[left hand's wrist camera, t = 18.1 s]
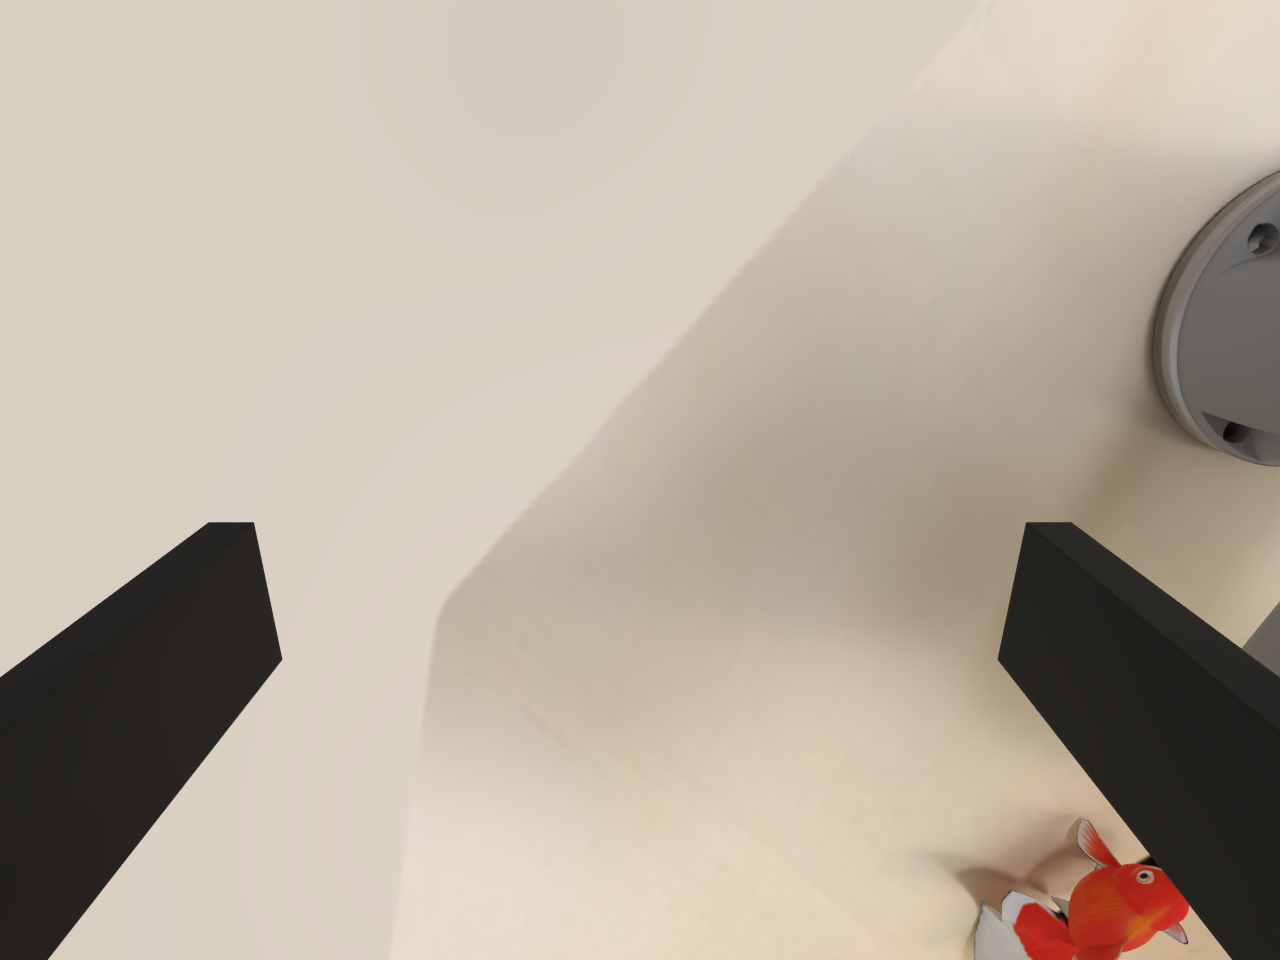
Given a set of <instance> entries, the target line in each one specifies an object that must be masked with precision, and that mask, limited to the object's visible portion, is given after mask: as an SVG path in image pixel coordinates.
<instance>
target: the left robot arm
mask: <svg viewBox="0 0 1280 960" xmlns="http://www.w3.org/2000/svg"><path fill="white" fill-rule="evenodd" d="M1152 355H1153V368H1154V374H1155V379H1156V383H1157V386H1158V389H1159V392H1160V395H1161V397H1162V399H1163V401H1164V404H1165V405H1166V407H1167V409H1168V410H1169V412H1170V413H1171V415H1172V416H1173V417H1174V419H1175V420H1176V421H1177V422H1178V424H1179V425H1180V426H1182V427H1183V428H1184V429H1185V430H1186V431H1187V432H1188V433H1189V434H1191V435H1192V436H1193V437H1195V438H1196V439H1198V440H1199V441H1201V442H1203V443H1205V444H1207V445H1209V446H1211V447H1213V448H1216V449H1218V450H1220V451H1223V452H1225V453H1227V454H1230V455H1232V456H1234V457H1237V458H1239V459H1242V460H1245V461H1248V462H1251V463H1255V464H1260V465H1266V466H1275V467H1280V171H1279V172H1277V173H1275V174H1273V175H1272V176H1270V177H1268V178H1266V179H1264V180H1263V181H1261V182H1259V183H1258V184H1256V185H1255V186H1253V187H1251V188H1250V189H1248V190H1247V191H1246V192H1244V193H1243V194H1242V195H1240V196H1239V197H1238V198H1236V199H1235V200H1234V201H1233V202H1231V203H1230V204H1229V205H1228V206H1227V207H1226V208H1224V209H1223V210H1222V211H1221V212H1220V213H1219V214H1218V215H1217V216H1216V217H1215V218H1214V219H1213V220H1212V221H1211V222H1210V223H1209V224H1208V225H1207V226H1206V227H1205V229H1204V230H1203V231H1202V232H1201V233H1200V234H1199V236H1198V237H1197V238H1196V239H1195V241H1194V242H1193V243H1192V245H1191V246H1190V247H1189V249H1188V250H1187V251H1186V253H1185V255H1184V256H1183V258H1182V259H1181V261H1180V263H1179V264H1178V266H1177V268H1176V269H1175V271H1174V273H1173V275H1172V277H1171V279H1170V281H1169V283H1168V286H1167V288H1166V290H1165V293H1164V295H1163V298H1162V301H1161V304H1160V307H1159V310H1158V314H1157V318H1156V323H1155V328H1154V336H1153V352H1152ZM281 661H282V655H281V651H280V646H279V641H278V636H277V631H276V627H275V622H274V617H273V612H272V607H271V603H270V598H269V593H268V588H267V583H266V578H265V574H264V569H263V564H262V559H261V554H260V550H259V545H258V540H257V535H256V530H255V526H254V523H253V522H209V523H207V524H206V525H205V526H203V527H202V528H201V529H199V530H198V531H197V532H195V533H194V534H192V535H191V536H190V537H188V538H187V539H186V540H184V541H183V542H182V543H180V544H179V545H178V546H176V547H175V548H174V549H172V550H171V551H170V552H168V553H167V554H166V555H164V556H163V557H162V558H160V559H159V560H158V561H156V562H155V563H154V564H152V565H151V566H149V567H148V568H147V569H145V570H144V571H143V572H141V573H140V574H139V575H137V576H136V577H135V578H133V579H132V580H131V581H129V582H128V583H127V584H125V585H124V586H122V587H121V588H120V589H118V590H117V591H116V592H114V593H113V594H112V595H110V596H109V597H108V598H106V599H105V600H104V601H102V602H101V603H100V604H98V605H97V606H96V607H94V608H93V609H92V610H90V611H89V612H87V613H86V614H85V615H83V616H82V617H81V618H79V619H78V620H77V621H75V622H74V623H73V624H71V625H70V626H69V627H67V628H66V629H65V630H63V631H62V632H61V633H59V634H58V635H57V636H55V637H54V638H52V639H51V640H50V641H48V642H47V643H46V644H44V645H43V646H42V647H40V648H39V649H38V650H36V651H35V652H34V653H32V654H31V655H30V656H28V657H27V658H26V659H24V660H23V661H22V662H20V663H19V664H17V665H16V666H15V667H14V668H12V669H11V670H9V671H8V672H7V673H5V674H4V675H3V676H1V677H0V960H48V959H49V958H50V956H51V955H52V954H53V952H54V951H55V950H56V949H57V947H58V946H59V945H60V943H61V942H62V941H63V940H64V938H65V937H66V936H67V934H68V933H69V932H70V931H71V929H72V928H73V927H74V925H75V924H76V923H77V922H78V920H79V919H80V918H81V917H82V915H83V914H84V913H85V911H86V910H87V909H88V908H89V906H90V905H91V904H92V902H93V901H94V900H95V899H96V897H97V896H98V895H99V894H100V892H101V891H102V890H103V888H104V887H105V886H106V885H107V883H108V882H109V881H110V879H111V878H112V877H113V876H114V874H115V873H116V872H117V870H118V869H119V868H120V867H121V865H122V864H123V863H124V861H125V860H126V859H127V858H128V856H129V855H130V854H131V853H132V851H133V850H134V849H135V847H136V846H137V845H138V844H139V842H140V841H141V840H142V839H143V837H144V836H145V835H146V833H147V832H148V831H149V830H150V828H151V827H152V826H153V824H154V823H155V822H156V821H157V819H158V818H159V817H160V815H161V814H162V813H163V812H164V810H165V809H166V808H167V807H168V805H169V804H170V803H171V801H172V800H173V799H174V798H175V796H176V795H177V794H178V792H179V791H180V790H181V789H182V787H183V786H184V785H185V783H186V782H187V781H188V780H189V778H190V777H191V776H192V775H193V773H194V772H195V771H196V769H197V768H198V767H199V766H200V764H201V763H202V762H203V760H204V759H205V758H206V757H207V755H208V754H209V753H210V752H211V750H212V749H213V748H214V746H215V745H216V744H217V743H218V741H219V740H220V739H221V737H222V736H223V735H224V734H225V732H226V731H227V730H228V728H229V727H230V726H231V725H232V723H233V722H234V721H235V720H236V718H237V717H238V716H239V714H240V713H241V712H242V711H243V709H244V708H245V707H246V705H247V704H248V703H249V702H250V700H251V699H252V698H253V696H254V695H255V694H256V693H257V691H258V690H259V689H260V687H261V686H262V685H263V684H264V682H265V681H266V680H267V679H268V677H269V676H270V675H271V673H272V672H273V671H274V670H275V668H276V667H277V666H278V664H279V663H280V662H281ZM998 661H999V662H1000V663H1001V665H1002V666H1003V667H1004V668H1005V670H1006V671H1007V672H1008V673H1009V675H1010V676H1011V677H1012V679H1013V680H1014V681H1015V682H1016V684H1017V685H1018V686H1019V688H1020V689H1021V690H1022V691H1023V693H1024V694H1025V695H1026V697H1027V698H1028V699H1029V700H1030V702H1031V703H1032V704H1033V705H1034V707H1035V708H1036V709H1037V711H1038V712H1039V713H1040V714H1041V716H1042V717H1043V718H1044V720H1045V721H1046V722H1047V723H1048V725H1049V726H1050V727H1051V728H1052V730H1053V731H1054V732H1055V734H1056V735H1057V736H1058V737H1059V739H1060V740H1061V741H1062V743H1063V744H1064V745H1065V746H1066V748H1067V749H1068V750H1069V752H1070V753H1071V754H1072V755H1073V757H1074V758H1075V759H1076V760H1077V762H1078V763H1079V764H1080V766H1081V767H1082V768H1083V769H1084V771H1085V772H1086V773H1087V775H1088V776H1089V777H1090V778H1091V780H1092V781H1093V782H1094V784H1095V785H1096V786H1097V787H1098V789H1099V790H1100V791H1101V792H1102V794H1103V795H1104V796H1105V798H1106V799H1107V800H1108V801H1109V803H1110V804H1111V805H1112V807H1113V808H1114V809H1115V810H1116V812H1117V813H1118V814H1119V815H1120V817H1121V818H1122V819H1123V821H1124V822H1125V823H1126V824H1127V826H1128V827H1129V828H1130V830H1131V831H1132V832H1133V833H1134V835H1135V836H1136V837H1137V839H1138V840H1139V841H1140V842H1141V844H1142V845H1143V846H1144V847H1145V849H1146V850H1147V851H1148V853H1149V854H1150V855H1151V856H1152V858H1153V859H1154V860H1155V862H1156V863H1157V864H1158V865H1159V867H1160V868H1161V869H1162V871H1163V872H1164V873H1165V874H1166V876H1167V877H1168V878H1169V879H1170V881H1171V882H1172V883H1173V885H1174V886H1175V887H1176V888H1177V890H1178V891H1179V892H1180V894H1181V895H1182V896H1183V897H1184V899H1185V900H1186V901H1187V902H1188V904H1189V905H1190V906H1191V908H1192V909H1193V910H1194V911H1195V913H1196V914H1197V915H1198V917H1199V918H1200V919H1201V920H1202V922H1203V923H1204V924H1205V926H1206V927H1207V928H1208V929H1209V931H1210V932H1211V933H1212V934H1213V936H1214V937H1215V938H1216V940H1217V941H1218V942H1219V943H1220V945H1221V946H1222V947H1223V949H1224V950H1225V951H1226V952H1227V954H1228V955H1229V956H1230V958H1231V959H1232V960H1280V602H1279V603H1278V604H1277V606H1276V607H1275V608H1274V609H1273V610H1272V612H1271V613H1270V614H1269V615H1268V617H1267V618H1266V619H1265V620H1264V622H1263V623H1262V624H1261V625H1260V626H1259V628H1258V629H1257V630H1256V631H1255V633H1254V634H1253V635H1252V636H1251V638H1250V639H1249V640H1248V641H1247V642H1246V644H1245V645H1244V646H1243V647H1242V649H1241V648H1240V647H1238V646H1237V645H1236V644H1234V643H1233V642H1232V641H1230V640H1229V639H1228V638H1226V637H1225V636H1223V635H1222V634H1221V633H1219V632H1218V631H1217V630H1215V629H1214V628H1213V627H1211V626H1210V625H1209V624H1207V623H1206V622H1205V621H1203V620H1202V619H1201V618H1199V617H1198V616H1197V615H1195V614H1194V613H1193V612H1191V611H1190V610H1188V609H1187V608H1186V607H1184V606H1183V605H1182V604H1180V603H1179V602H1178V601H1176V600H1175V599H1174V598H1172V597H1171V596H1170V595H1168V594H1167V593H1166V592H1164V591H1163V590H1162V589H1160V588H1159V587H1158V586H1156V585H1155V584H1153V583H1152V582H1151V581H1149V580H1148V579H1147V578H1145V577H1144V576H1143V575H1141V574H1140V573H1139V572H1137V571H1136V570H1135V569H1133V568H1132V567H1131V566H1129V565H1128V564H1127V563H1125V562H1124V561H1123V560H1121V559H1120V558H1119V557H1117V556H1116V555H1114V554H1113V553H1112V552H1110V551H1109V550H1108V549H1106V548H1105V547H1104V546H1102V545H1101V544H1100V543H1098V542H1097V541H1096V540H1094V539H1093V538H1092V537H1090V536H1089V535H1088V534H1086V533H1085V532H1084V531H1082V530H1081V529H1079V528H1078V527H1077V526H1075V525H1074V524H1073V523H1071V522H1026V526H1025V530H1024V535H1023V540H1022V545H1021V550H1020V554H1019V559H1018V564H1017V569H1016V574H1015V578H1014V583H1013V588H1012V593H1011V598H1010V603H1009V607H1008V612H1007V617H1006V622H1005V627H1004V631H1003V636H1002V641H1001V646H1000V651H999V655H998Z"/></svg>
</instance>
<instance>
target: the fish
mask: <svg viewBox="0 0 1280 960" xmlns="http://www.w3.org/2000/svg"><path fill="white" fill-rule="evenodd" d="M1077 845H1078V847H1079V848H1080V849H1081V850H1082V851H1083V852H1084V853H1085V854H1086V855H1087V856H1088V857H1089V858H1091V859H1092V860H1093V861H1094V862H1096V863H1097V865H1096V867H1095V871H1093V872H1091V873H1089V874H1088V875H1087V876H1085V877H1084V878H1083V879H1081V880H1080V881H1079V882H1078V884H1077V885H1076V887H1075V889H1074V890H1073V893H1072V895H1071V899H1070V902H1069V901H1066V900H1063V899H1060V898H1056V897H1053V896H1052V897H1051V899H1052V900H1053V901H1054V902H1055V903H1056V904H1057V906H1058V907H1059V908H1060V909H1061V910H1062V912H1063V913H1064V914H1065V915H1066V917H1067V918H1068V922H1067V921H1066V920H1065V919H1064V917H1063V916H1061V915H1060V914H1058V913H1056V912H1055V911H1053V910H1052V909H1050V908H1048V907H1047V906H1045V905H1043V904H1042V903H1040V902H1038V901H1037V900H1035V899H1033V898H1030V897H1028V896H1026V895H1023V894H1020V893H1017V892H1015V891H1012V890H1011V891H1010V892H1009V893H1008V894H1007V895H1006V896H1005V897H1004V898H1003V899H1002V914H1001V913H999V912H998V911H996V910H995V909H994V908H992V907H990V906H988V905H986V904H984V903H982V902H980V905H981V915H980V918H979V920H978V923H977V928H976V933H975V941H974V960H1118V959H1119V957H1120V955H1121V952H1126V951H1130V950H1133V949H1135V948H1138V947H1140V946H1142V945H1144V944H1145V943H1146V942H1148V941H1149V940H1150V939H1151V938H1152V936H1153V935H1154V934H1155V933H1156V932H1157V931H1164V932H1165V933H1167V934H1168V935H1170V936H1171V937H1173V938H1175V939H1176V940H1178V941H1179V942H1181V943H1184V944H1187V943H1188V940H1187V937H1186V934H1185V932H1184V929H1183V928H1182V926H1181V925H1180V924H1179V921H1182V920H1184V919H1185V918H1186V917H1187V916H1188V910H1189V904H1188V902H1187V901H1186V900H1185V899H1184V897H1183V896H1182V895H1181V894H1180V892H1179V891H1178V890H1177V888H1176V887H1175V886H1174V885H1173V883H1172V882H1171V881H1170V879H1169V878H1168V877H1167V876H1166V874H1165V873H1164V872H1163V871H1162V869H1160V868H1157V867H1153V866H1148V865H1139V864H1125V865H1123V866H1121V864H1120V863H1119V862H1118V861H1117V860H1116V858H1115V857H1114V856H1113V855H1112V853H1111V852H1110V851H1109V849H1108V848H1107V846H1106V845H1105V844H1104V842H1103V841H1102V840H1101V838H1100V837H1099V835H1098V834H1097V832H1096V831H1095V829H1094V828H1093V826H1092V824H1091V823H1090V822H1089V821H1088V820H1081V822H1080V825H1079V827H1078V830H1077Z"/></svg>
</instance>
